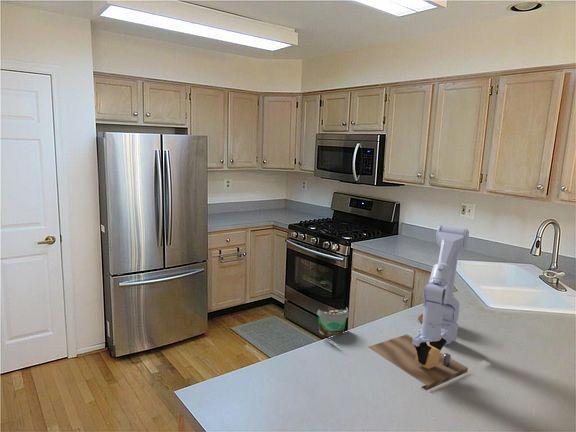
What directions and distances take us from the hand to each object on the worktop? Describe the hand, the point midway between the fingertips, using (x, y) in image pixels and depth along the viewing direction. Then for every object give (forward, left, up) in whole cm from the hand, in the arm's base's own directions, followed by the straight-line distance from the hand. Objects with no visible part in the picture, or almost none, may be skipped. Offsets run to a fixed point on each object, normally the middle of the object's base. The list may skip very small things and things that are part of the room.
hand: (427, 361), depth 123 cm
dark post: (-7, +2, -4) cm, 8 cm away
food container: (+12, -32, -4) cm, 34 cm away
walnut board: (-2, -6, -4) cm, 7 cm away
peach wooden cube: (0, 0, -1) cm, 1 cm away
